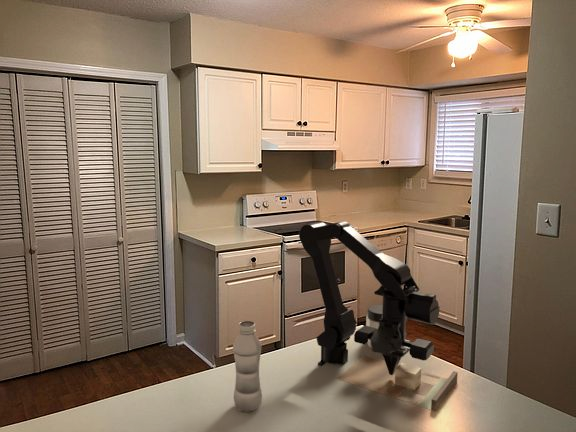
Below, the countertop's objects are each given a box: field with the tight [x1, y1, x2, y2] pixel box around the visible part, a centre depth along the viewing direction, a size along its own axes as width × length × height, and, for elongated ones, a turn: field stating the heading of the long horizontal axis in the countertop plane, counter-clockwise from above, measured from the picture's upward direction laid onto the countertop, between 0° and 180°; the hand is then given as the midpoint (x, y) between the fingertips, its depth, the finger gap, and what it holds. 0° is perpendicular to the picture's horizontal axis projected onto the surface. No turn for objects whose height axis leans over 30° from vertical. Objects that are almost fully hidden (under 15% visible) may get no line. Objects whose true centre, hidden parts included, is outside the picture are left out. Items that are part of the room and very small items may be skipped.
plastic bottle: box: [232, 320, 263, 413], centre depth 106 cm, size 6×7×20 cm
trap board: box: [336, 355, 459, 412], centre depth 117 cm, size 25×16×4 cm, turn 54°
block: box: [395, 362, 422, 390], centre depth 115 cm, size 5×4×4 cm
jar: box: [365, 304, 382, 348], centre depth 138 cm, size 9×8×12 cm
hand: (391, 374), depth 118 cm, fingers closed
